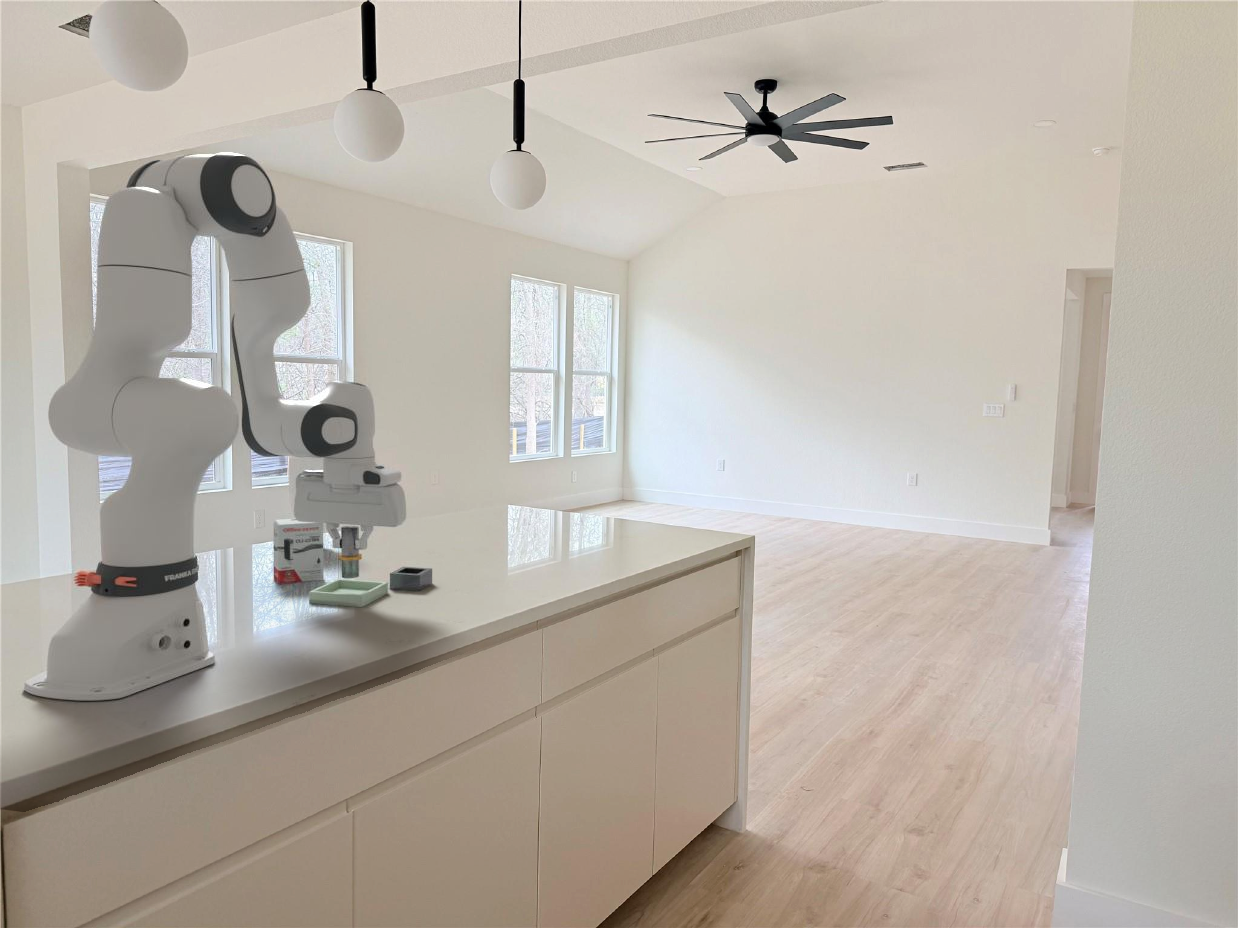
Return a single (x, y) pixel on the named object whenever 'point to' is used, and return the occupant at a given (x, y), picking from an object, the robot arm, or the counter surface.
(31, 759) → the counter surface
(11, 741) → the counter surface
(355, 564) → the pin
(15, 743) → the counter surface
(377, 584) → the tray
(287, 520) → the ink box
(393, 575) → the socket block
